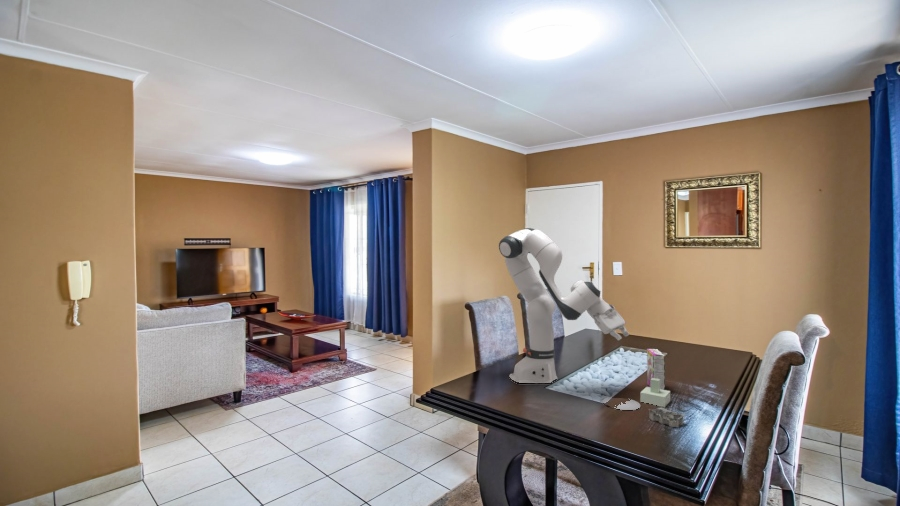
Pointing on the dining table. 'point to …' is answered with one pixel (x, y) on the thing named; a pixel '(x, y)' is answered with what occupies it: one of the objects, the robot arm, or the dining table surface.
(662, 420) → the egg carton
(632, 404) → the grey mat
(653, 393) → the sage cover
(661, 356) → the candy bar box
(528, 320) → the robot arm
